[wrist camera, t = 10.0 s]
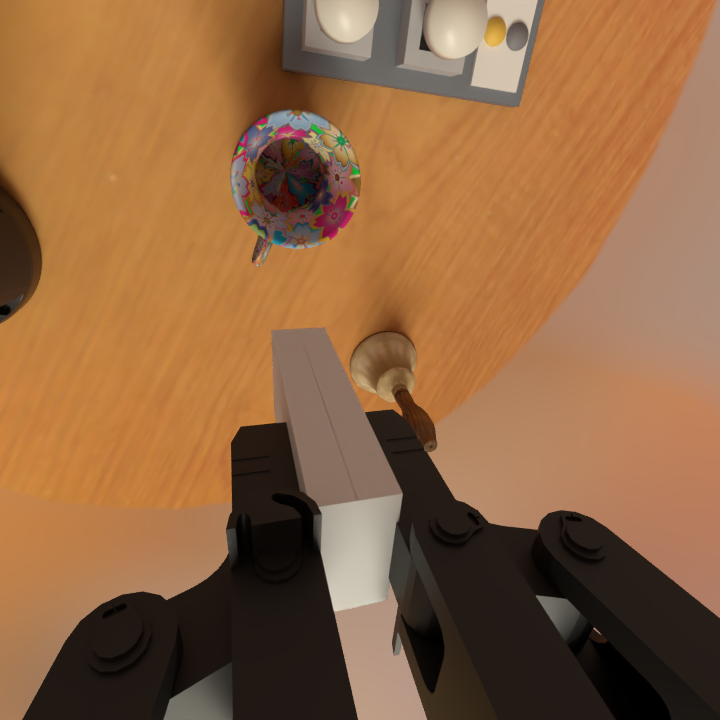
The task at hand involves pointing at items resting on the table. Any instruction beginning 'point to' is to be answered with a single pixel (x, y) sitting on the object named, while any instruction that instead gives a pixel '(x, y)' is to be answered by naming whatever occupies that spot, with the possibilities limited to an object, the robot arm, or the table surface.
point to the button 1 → (346, 18)
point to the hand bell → (393, 378)
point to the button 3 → (454, 27)
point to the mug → (294, 180)
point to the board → (418, 51)
